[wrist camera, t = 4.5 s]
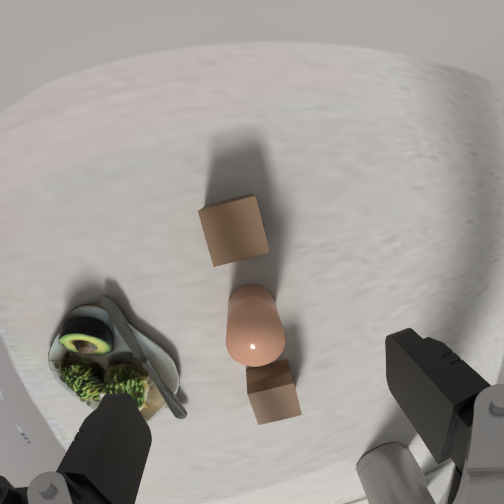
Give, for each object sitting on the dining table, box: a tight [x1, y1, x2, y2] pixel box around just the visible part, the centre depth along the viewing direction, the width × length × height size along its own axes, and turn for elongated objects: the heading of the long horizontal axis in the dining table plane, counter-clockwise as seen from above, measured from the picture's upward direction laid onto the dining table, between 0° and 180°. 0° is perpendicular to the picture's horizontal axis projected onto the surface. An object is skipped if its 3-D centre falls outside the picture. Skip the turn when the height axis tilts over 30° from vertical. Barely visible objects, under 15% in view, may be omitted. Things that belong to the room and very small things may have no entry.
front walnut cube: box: [198, 194, 270, 267], centre depth 29 cm, size 5×5×5 cm
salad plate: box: [48, 295, 187, 423], centre depth 32 cm, size 19×18×5 cm
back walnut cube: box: [246, 359, 302, 425], centre depth 33 cm, size 5×5×5 cm
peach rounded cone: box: [226, 284, 285, 367], centre depth 29 cm, size 5×5×8 cm
